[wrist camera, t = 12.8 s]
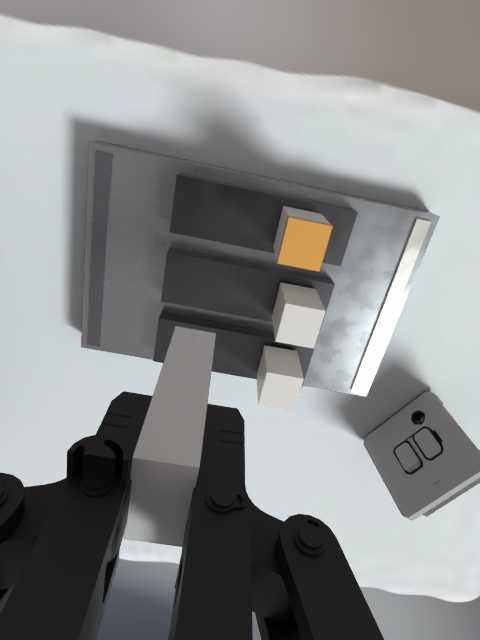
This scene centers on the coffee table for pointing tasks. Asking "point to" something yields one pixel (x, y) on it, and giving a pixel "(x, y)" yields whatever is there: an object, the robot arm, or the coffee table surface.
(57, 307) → the coffee table surface
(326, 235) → the block
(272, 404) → the block
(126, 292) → the panel
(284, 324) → the block
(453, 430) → the electrical switch
